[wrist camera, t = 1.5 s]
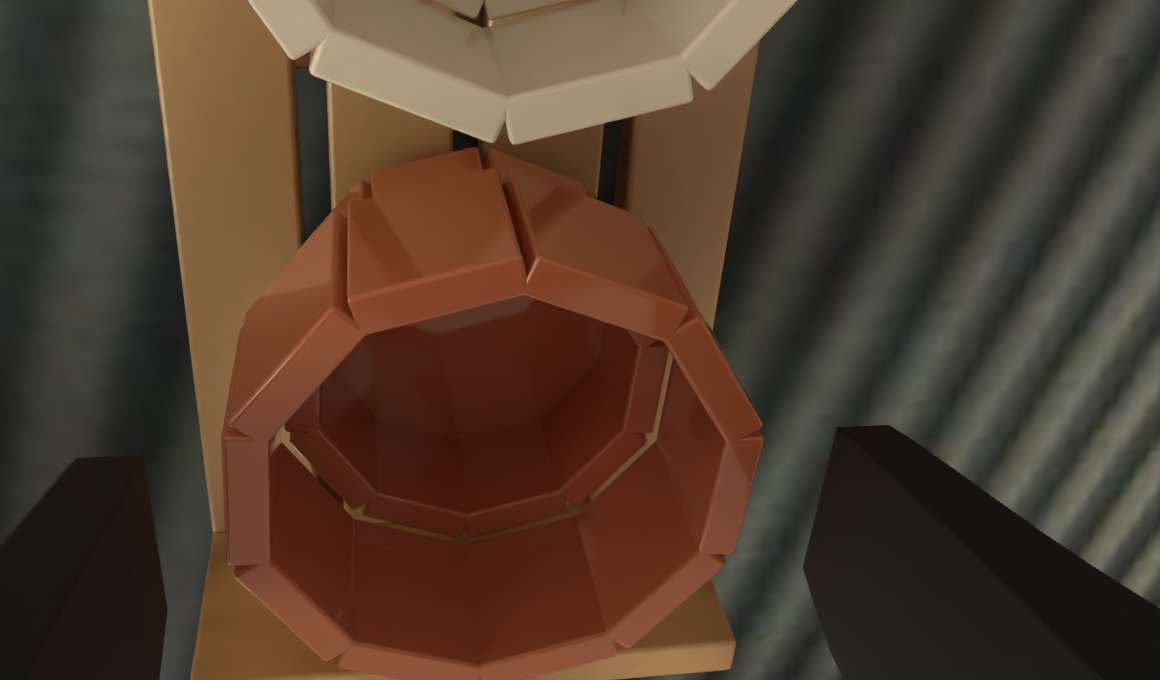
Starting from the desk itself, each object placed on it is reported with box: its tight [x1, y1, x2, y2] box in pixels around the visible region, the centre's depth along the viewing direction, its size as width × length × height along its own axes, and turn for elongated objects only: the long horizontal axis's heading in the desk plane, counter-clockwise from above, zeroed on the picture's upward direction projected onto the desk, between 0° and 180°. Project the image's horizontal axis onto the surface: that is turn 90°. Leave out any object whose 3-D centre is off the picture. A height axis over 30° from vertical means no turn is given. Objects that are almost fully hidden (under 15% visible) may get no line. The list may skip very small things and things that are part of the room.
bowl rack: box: [148, 0, 760, 680], centre depth 14 cm, size 8×16×6 cm, turn 175°
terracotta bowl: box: [221, 147, 764, 680], centre depth 14 cm, size 6×6×4 cm
